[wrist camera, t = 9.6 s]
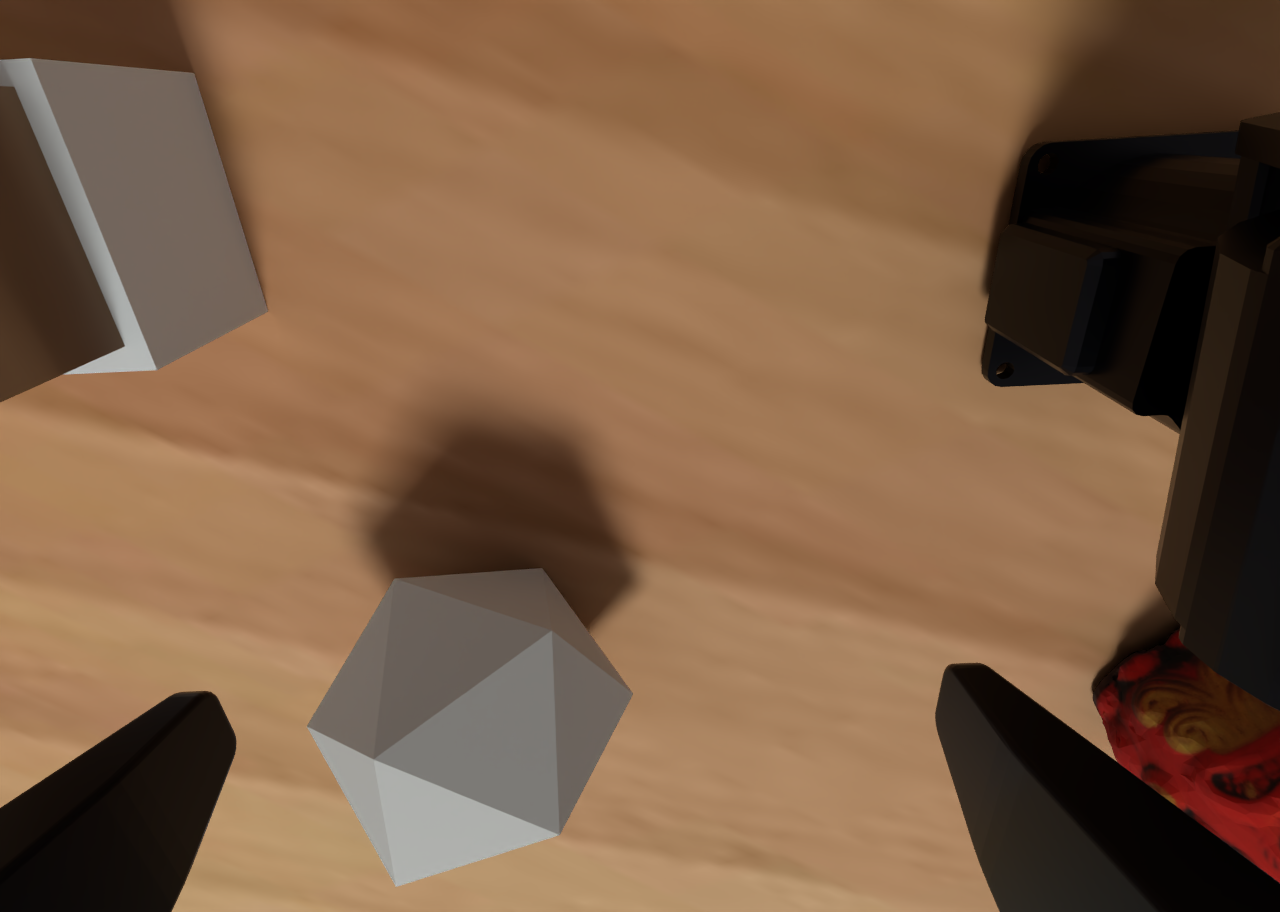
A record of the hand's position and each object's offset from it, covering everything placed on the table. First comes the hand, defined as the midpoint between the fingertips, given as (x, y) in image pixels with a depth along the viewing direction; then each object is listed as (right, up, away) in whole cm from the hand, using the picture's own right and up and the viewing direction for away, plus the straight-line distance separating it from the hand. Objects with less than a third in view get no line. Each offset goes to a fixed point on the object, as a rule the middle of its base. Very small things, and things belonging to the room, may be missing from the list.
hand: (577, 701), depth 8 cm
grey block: (-13, +10, +10) cm, 19 cm away
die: (-4, -3, +17) cm, 17 cm away
